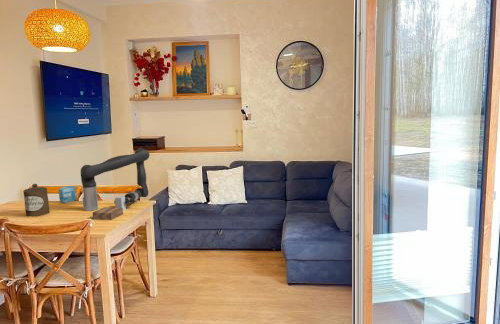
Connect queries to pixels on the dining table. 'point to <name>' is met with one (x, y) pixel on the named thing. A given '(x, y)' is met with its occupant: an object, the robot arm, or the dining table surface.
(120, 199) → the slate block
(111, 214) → the walnut block
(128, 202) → the robot arm
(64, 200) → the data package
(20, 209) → the dining table surface
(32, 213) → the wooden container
